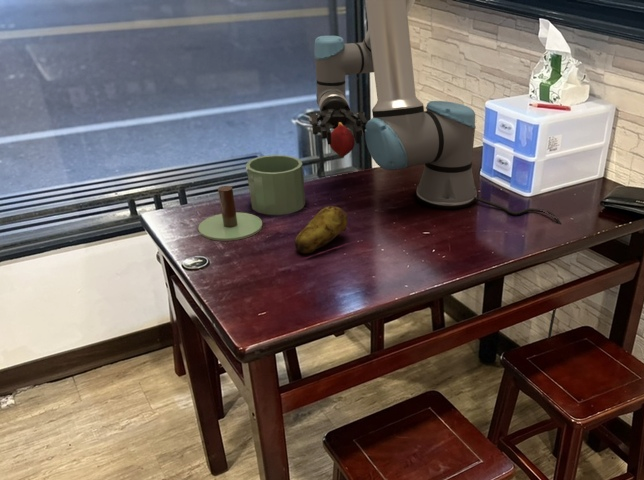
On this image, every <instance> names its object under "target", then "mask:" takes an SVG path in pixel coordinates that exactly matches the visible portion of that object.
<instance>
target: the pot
mask: <svg viewBox="0 0 644 480" xmlns="http://www.w3.org/2000/svg"><path fill="white" fill-rule="evenodd" d="M303 165H304V164H303V162H302V160H301V159H300V158H297V157H295V156H291V155H286V154H284V155H283V154H271V155H270V154H269V155H261V156H258V157H255V158H253V159H250V160H248V161H247V162H246V164H245V168H246V177H247V184H248V185H247V186H248V191H249V200H250V206H251V209H252V210H253V211H254V212H256V213H258V214H263V215H269V216H280V215H282V216H283V215H289V214H292V213H296V212H299V211H300V210H302V209H303V208H304V207H305V206H306V192H305V191H306V189H305V179H304V166H303Z"/></svg>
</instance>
